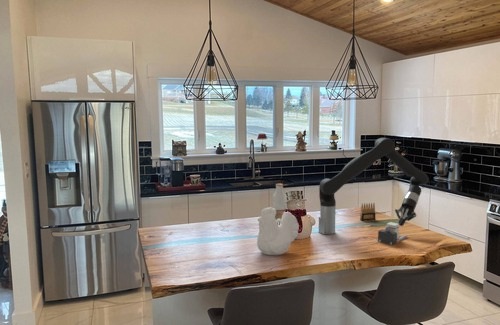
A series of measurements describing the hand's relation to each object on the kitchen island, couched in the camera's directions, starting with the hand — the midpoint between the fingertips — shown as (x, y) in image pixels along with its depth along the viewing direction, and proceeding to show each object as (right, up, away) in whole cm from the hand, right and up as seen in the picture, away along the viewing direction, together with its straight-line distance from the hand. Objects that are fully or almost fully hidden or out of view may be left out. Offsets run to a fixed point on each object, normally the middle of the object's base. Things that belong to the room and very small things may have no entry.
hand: (400, 225), depth 230 cm
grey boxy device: (-6, -9, -5) cm, 12 cm away
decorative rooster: (-72, -12, -21) cm, 76 cm away
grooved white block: (-7, -7, -6) cm, 12 cm away
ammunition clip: (-6, -3, +42) cm, 43 cm away
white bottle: (-68, -6, +29) cm, 74 cm away
